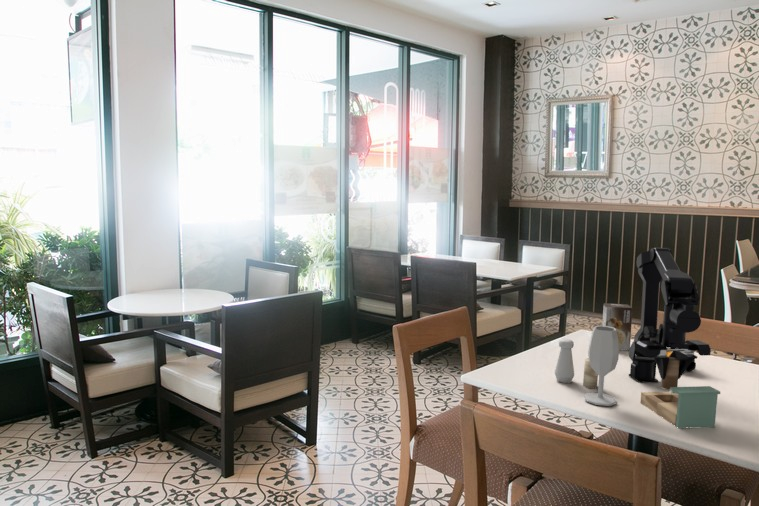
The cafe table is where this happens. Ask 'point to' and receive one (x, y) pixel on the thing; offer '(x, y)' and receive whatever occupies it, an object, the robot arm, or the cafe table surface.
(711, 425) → the teal l-shaped bracket
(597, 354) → the wineglass
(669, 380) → the walnut peg
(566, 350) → the salt shaker
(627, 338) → the coffee box
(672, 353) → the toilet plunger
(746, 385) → the cafe table surface
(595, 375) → the maple peg
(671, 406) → the socket block
